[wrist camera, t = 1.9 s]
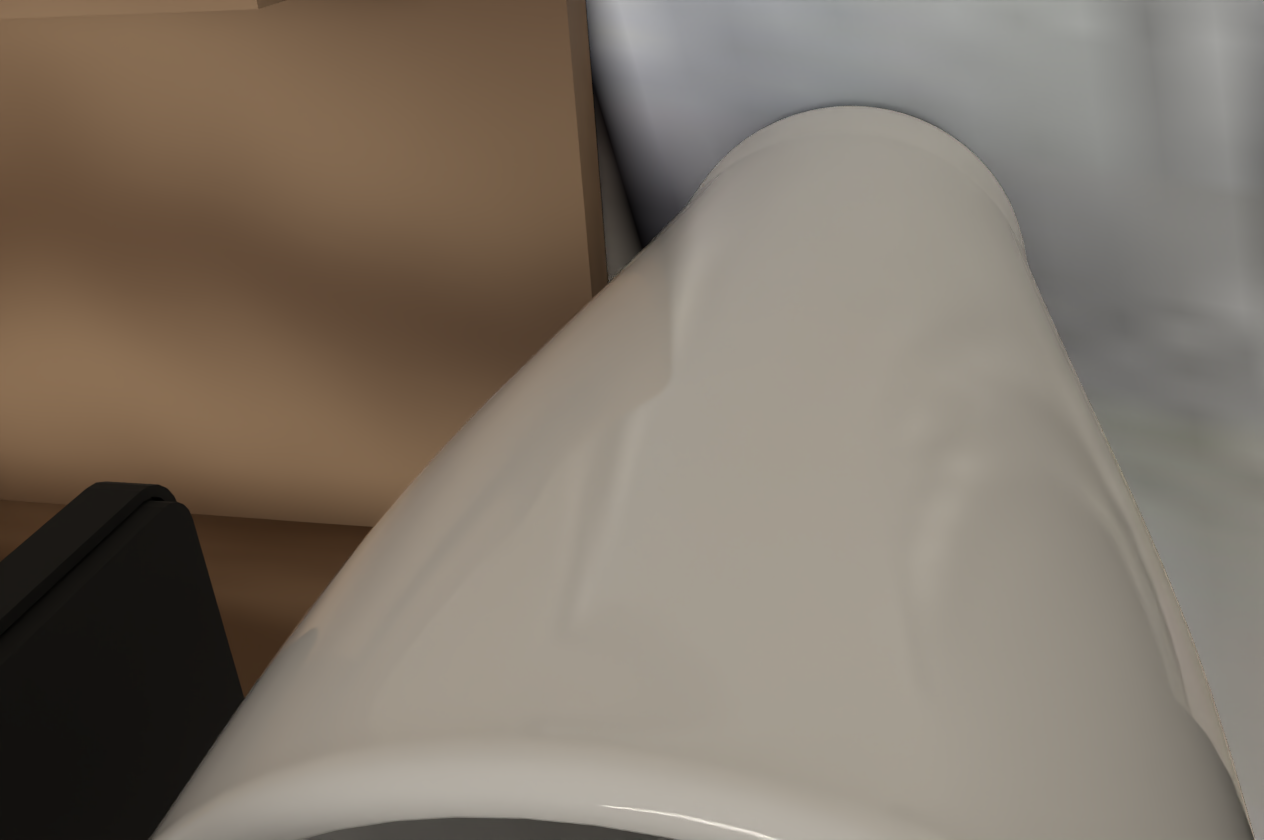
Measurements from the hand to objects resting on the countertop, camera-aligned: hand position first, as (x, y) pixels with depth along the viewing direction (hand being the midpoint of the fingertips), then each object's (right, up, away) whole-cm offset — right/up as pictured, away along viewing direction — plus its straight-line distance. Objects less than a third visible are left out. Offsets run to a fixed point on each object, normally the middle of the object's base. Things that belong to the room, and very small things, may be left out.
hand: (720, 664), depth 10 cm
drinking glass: (+3, +5, +9) cm, 11 cm away
